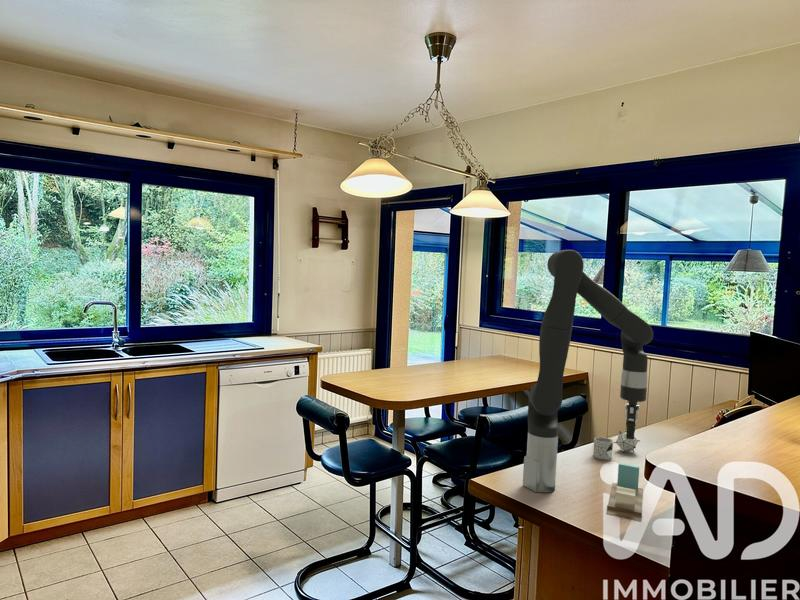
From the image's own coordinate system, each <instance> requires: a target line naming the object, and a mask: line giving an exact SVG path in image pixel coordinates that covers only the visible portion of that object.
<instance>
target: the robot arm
mask: <svg viewBox="0 0 800 600" xmlns="http://www.w3.org/2000/svg"><path fill="white" fill-rule="evenodd" d="M546 264H547V270H548V272H549V274H550V275H551V276H552V277H553V287H552V288H553V289H552V293H551V298H550V300H549V303H548V305H547V307H546V309H545V312H544V313H543V317H542V320H541V321H542V322H541V326H540V333H539V342H538V343H539V344H538V350H539V351H538V353H539V354H538V355H539V372H538V376H537V381H536V382H535V384H533V385H532V386H531V388H530V390H529V392H528V403H527V408H528V409H527V442H526V455H525V456H524V458H523V470H522V471H523V474H522V486H523V487H525V488H527V489H529V490H530V491H532V492H534V493H552V492H554V491H555V490H556V478H557V460H558V443H559V423H558V411H559V410H560V408H561V406H562V404H563V386H564V373H565V367H566V363H567V360H568V353H569V349H570V344H571V337H572V332H573V323H574V319H575V318H574V317H575V309H576V300H577V295H579V296H580V297H581V298H583V300H584V301H586V302H587V303H588V305H590V306H591V307H592V308H593V309H594V310H595V311H596V312H597V313H598V314H600V315H601V316H602V318H604V319H605V320H606V322H607V323H609V324H611V325H612V326H614V327H616V328H618V329H619V330H621V333H620V342H621V349H622V353H623V358H622V359H623V360H622V372H621V377H620V389H619V390H620V392H619V397H620V399H622V400H624V401H627V402H628V403H625V407H624V409H625V410H624V411H625V420H626V423H625V425H626V432H627V434H626V438H627V439H634V437H635V432H636V426H637V424H636V423H637V422H638V418H639V417H638V416H639V413H640V405H638V403H639V402H640V403H642V402H646V400H647V390H648V362H649V361H648V360H649V359H648V355H647V353H645V352H644V348H643V346H645V345H648V344H649V343H651V342H652V340H653V339H654V331H653V329H652V326H650V324H649V323H648V322H647V321H645V319H643V318H641V317H640V316H638V315H637V314H636V313H635V312H633V311H632V310H630V309H629V308H628V307H627V306H626V305H625V304H624V303H623V302H622V301H621V300H620V299H619V298H617V296H615V295H614V294H613V293H611V292H610V291H609V290H607V289H606V288H605V287H603V286H602V285H601V284H599V283H597V282H596V281H594V280H593V279H592V278H590V277H589V275H587V274H586V273H585V272H584V267H585V265H584V260H583V256H582V255H581V253H579V252H578V251H576V250H574V249H563V250H558V251H555V252H554V253H552V254H551V255H550V256H549V257H548V260H547V263H546Z"/></svg>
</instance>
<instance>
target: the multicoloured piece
mask: <svg viewBox="0 0 800 600" xmlns="http://www.w3.org/2000/svg"><path fill="white" fill-rule="evenodd" d="M639 477H640V465H637V464H636V465H635V464H630V463H625V462H618V468H617V482H616V483H615V482H612V484H611V487H610V488H611V489H610V492H609V499H608V503H607V505H606V512H605V515H607V516H608V515H609V516H613V517H618V518H621V519H626V520H631V521H635V522H640V523H642V519H643V518H642V517H643V504H644V503H643V501H644V488H641V487H639ZM617 486H619V487H624V488H629V489H634V490H636V494H635V508H634V511H633V510H628V509H624V508H619V507H615V499H616V489H617Z"/></svg>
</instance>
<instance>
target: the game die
mask: <svg viewBox="0 0 800 600" xmlns="http://www.w3.org/2000/svg"><path fill="white" fill-rule="evenodd" d="M618 432H619V435H617V439H616V440H615V441H613V444H616V445H617V446H618V447H619V448H620V450H622V451H623V454H625V453H626V452H632V453H635V451H634V450H635V449H636V448H637V447H636V446H637V444H638V442H641V440H639V439H637V438H636V437H635V436H634V439H627V438H626V434H627V431H625V432H621V430H619V431H618Z"/></svg>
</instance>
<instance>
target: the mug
mask: <svg viewBox="0 0 800 600" xmlns="http://www.w3.org/2000/svg"><path fill="white" fill-rule="evenodd" d="M613 444H614V440H613V439H611V438H608V437H601V436H596V437H594V439H593V452H592V453H593V455H592V456H593V458H595V459H598V460H603V461H610V460H612V459H613V448H614V447H613V446H614V445H613Z"/></svg>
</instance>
